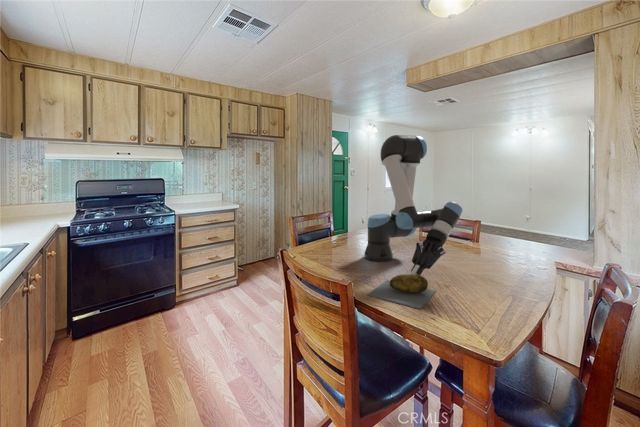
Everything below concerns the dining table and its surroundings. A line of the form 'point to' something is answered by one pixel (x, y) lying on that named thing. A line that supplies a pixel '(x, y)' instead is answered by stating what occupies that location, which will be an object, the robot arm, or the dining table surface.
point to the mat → (402, 295)
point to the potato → (409, 283)
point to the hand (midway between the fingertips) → (411, 280)
